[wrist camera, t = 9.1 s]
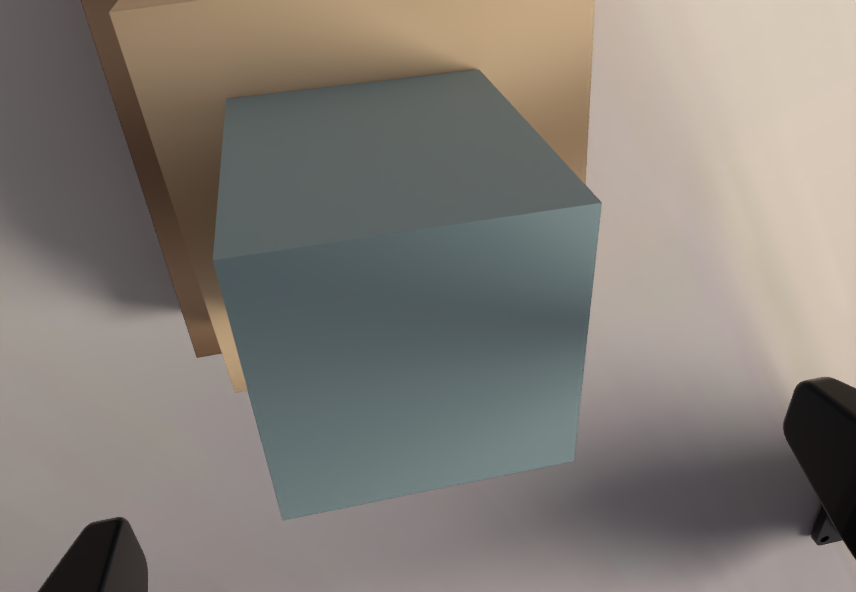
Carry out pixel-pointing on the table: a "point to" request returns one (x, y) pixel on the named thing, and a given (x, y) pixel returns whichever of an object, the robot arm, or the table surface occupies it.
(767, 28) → the table surface
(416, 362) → the slate block
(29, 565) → the table surface
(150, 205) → the tower base
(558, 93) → the tower top
